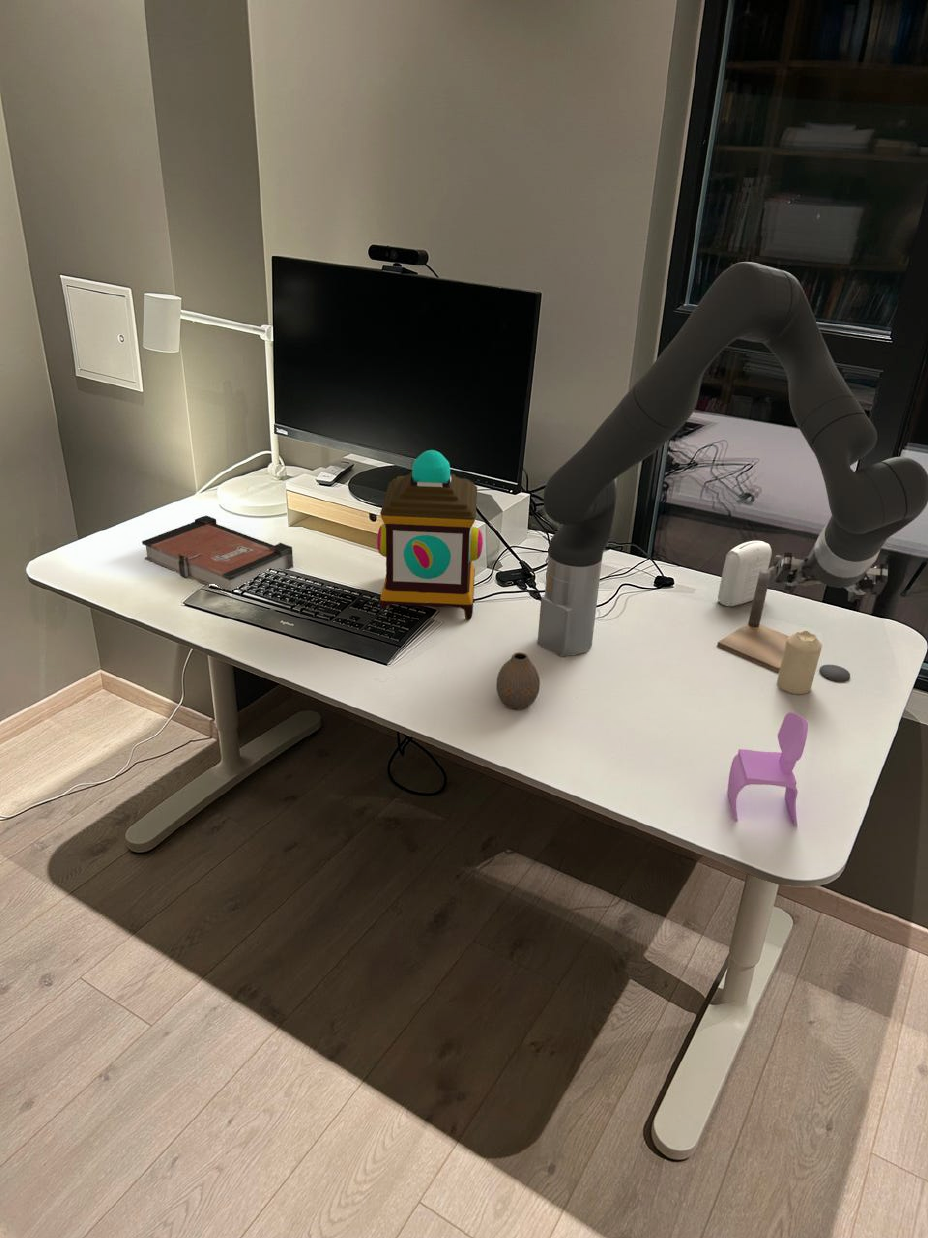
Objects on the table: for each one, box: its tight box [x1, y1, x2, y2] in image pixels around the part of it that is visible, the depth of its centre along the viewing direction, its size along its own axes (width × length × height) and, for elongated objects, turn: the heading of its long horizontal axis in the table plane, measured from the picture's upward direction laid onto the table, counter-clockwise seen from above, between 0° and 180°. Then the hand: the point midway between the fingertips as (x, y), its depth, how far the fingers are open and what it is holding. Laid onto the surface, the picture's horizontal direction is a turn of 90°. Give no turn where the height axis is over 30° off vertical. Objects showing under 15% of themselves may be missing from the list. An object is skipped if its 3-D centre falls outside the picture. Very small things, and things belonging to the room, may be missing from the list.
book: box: [141, 515, 294, 591], centre depth 185 cm, size 26×18×5 cm
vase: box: [495, 651, 541, 710], centre depth 142 cm, size 7×7×9 cm
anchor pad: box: [818, 664, 851, 683], centre depth 156 cm, size 5×5×1 cm
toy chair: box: [727, 711, 809, 827], centre depth 120 cm, size 8×9×15 cm
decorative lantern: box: [376, 449, 484, 621], centre depth 168 cm, size 20×20×30 cm
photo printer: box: [717, 540, 772, 607], centre depth 177 cm, size 10×4×12 cm, turn 123°
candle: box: [776, 630, 823, 695], centre depth 149 cm, size 6×6×10 cm
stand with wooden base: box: [716, 554, 790, 673], centre depth 161 cm, size 16×12×14 cm
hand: (820, 591), depth 133 cm, fingers open, 8 cm apart
